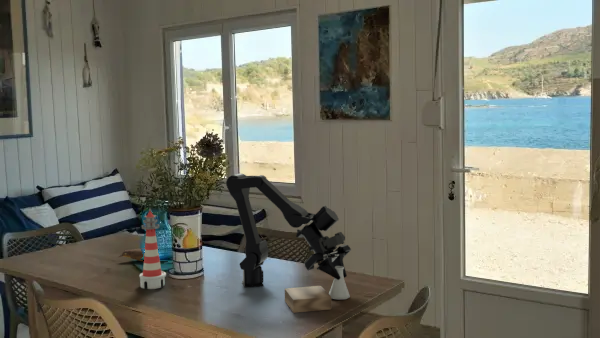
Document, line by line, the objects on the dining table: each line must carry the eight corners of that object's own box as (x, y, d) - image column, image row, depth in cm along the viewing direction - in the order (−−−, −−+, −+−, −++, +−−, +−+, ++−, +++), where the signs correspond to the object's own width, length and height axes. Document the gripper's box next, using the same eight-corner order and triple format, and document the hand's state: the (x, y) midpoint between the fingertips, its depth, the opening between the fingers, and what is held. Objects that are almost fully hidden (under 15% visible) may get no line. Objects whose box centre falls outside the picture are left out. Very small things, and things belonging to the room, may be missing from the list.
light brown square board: (293, 312, 187) (293, 299, 187) (284, 300, 199) (284, 288, 198) (331, 309, 190) (331, 296, 190) (320, 297, 202) (320, 285, 201)
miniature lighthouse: (171, 283, 220) (168, 199, 217) (157, 290, 211) (154, 203, 208) (149, 281, 223) (146, 198, 220) (134, 288, 214) (131, 202, 211)
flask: (348, 301, 198) (348, 270, 197) (326, 299, 199) (326, 269, 198) (351, 294, 205) (351, 264, 204) (329, 293, 206) (329, 263, 205)
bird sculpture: (180, 260, 252) (180, 248, 251) (117, 264, 247) (116, 252, 246) (180, 256, 258) (180, 245, 258) (118, 260, 253) (118, 248, 253)
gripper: (311, 229, 195) (339, 269, 189) (346, 221, 209) (373, 257, 203) (292, 250, 201) (319, 289, 195) (328, 240, 215) (354, 277, 209)
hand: (342, 277), depth 201 cm, fingers closed on flask, 3 cm apart
